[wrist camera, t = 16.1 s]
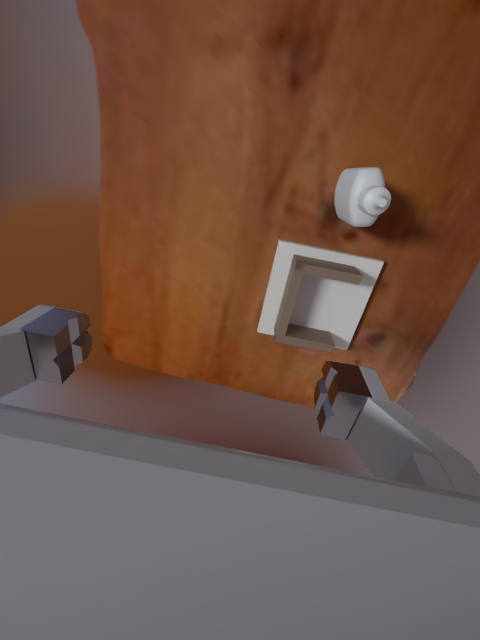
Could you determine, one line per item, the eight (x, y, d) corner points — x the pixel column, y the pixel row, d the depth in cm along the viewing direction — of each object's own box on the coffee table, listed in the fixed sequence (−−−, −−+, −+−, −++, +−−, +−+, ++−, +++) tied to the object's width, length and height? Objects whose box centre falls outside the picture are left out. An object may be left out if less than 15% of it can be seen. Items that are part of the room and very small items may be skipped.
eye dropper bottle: (378, 180, 34) (427, 183, 24) (349, 223, 37) (382, 244, 26) (347, 161, 34) (383, 156, 23) (320, 207, 36) (341, 221, 26)
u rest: (279, 239, 39) (280, 247, 34) (381, 260, 39) (396, 271, 34) (257, 328, 45) (256, 345, 41) (345, 346, 45) (353, 365, 41)
